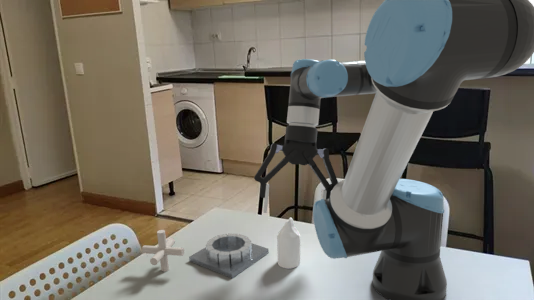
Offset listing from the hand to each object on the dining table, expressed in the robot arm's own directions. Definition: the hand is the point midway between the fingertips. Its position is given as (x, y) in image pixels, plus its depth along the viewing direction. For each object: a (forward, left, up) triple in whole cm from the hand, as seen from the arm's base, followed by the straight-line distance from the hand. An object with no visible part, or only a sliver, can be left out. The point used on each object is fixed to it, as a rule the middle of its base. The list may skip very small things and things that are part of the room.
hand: (293, 214), depth 104 cm
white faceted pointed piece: (0, +2, -12) cm, 12 cm away
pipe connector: (+23, +21, -12) cm, 33 cm away
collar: (+14, +8, -12) cm, 20 cm away
